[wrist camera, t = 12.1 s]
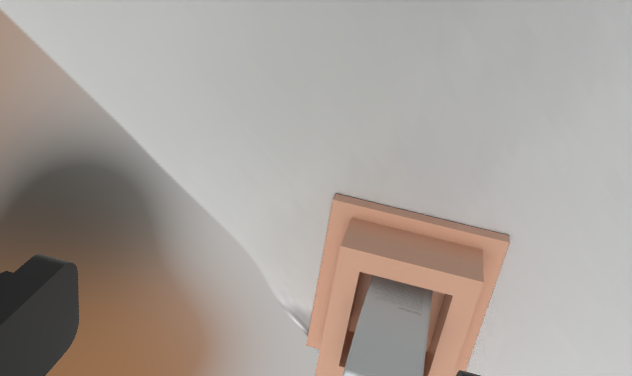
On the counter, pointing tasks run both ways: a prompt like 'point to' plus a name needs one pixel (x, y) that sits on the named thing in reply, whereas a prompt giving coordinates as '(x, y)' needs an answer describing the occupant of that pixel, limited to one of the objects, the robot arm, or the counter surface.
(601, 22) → the counter surface
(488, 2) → the counter surface
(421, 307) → the skincare box
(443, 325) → the tan open box
